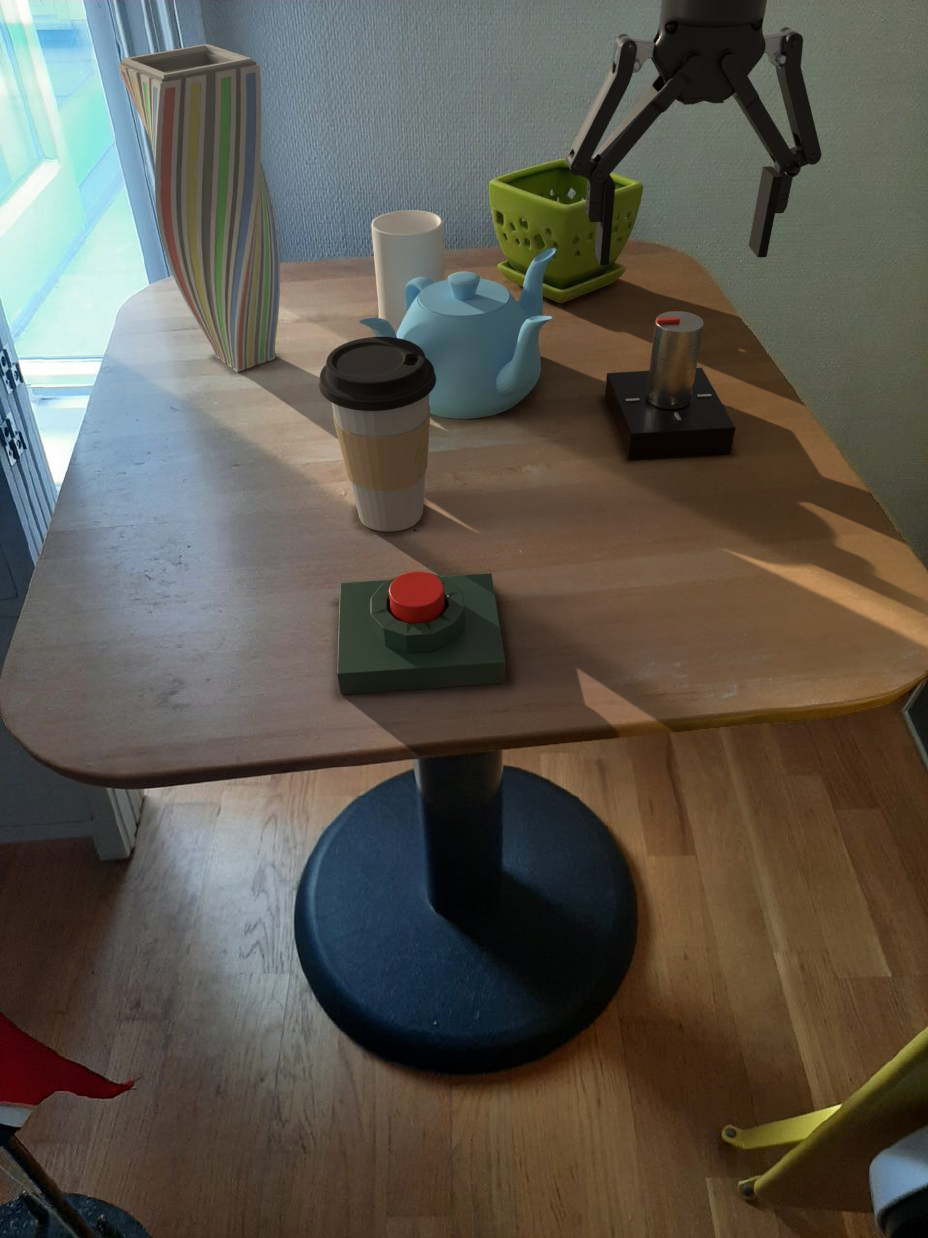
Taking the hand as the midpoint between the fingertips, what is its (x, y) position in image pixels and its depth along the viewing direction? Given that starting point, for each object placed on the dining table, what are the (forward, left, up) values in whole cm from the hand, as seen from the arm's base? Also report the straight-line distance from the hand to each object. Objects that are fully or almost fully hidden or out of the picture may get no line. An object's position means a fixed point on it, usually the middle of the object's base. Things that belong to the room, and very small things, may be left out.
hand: (679, 255), depth 80 cm
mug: (+30, +24, -18) cm, 42 cm away
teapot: (+11, +18, -18) cm, 27 cm away
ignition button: (-27, +25, -14) cm, 39 cm away
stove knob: (+2, -1, -15) cm, 15 cm away
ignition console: (-27, +25, -18) cm, 41 cm away
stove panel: (+2, -1, -18) cm, 18 cm away
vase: (+22, +43, -18) cm, 51 cm away
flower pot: (+38, +4, -18) cm, 42 cm away
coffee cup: (-10, +27, -18) cm, 34 cm away
